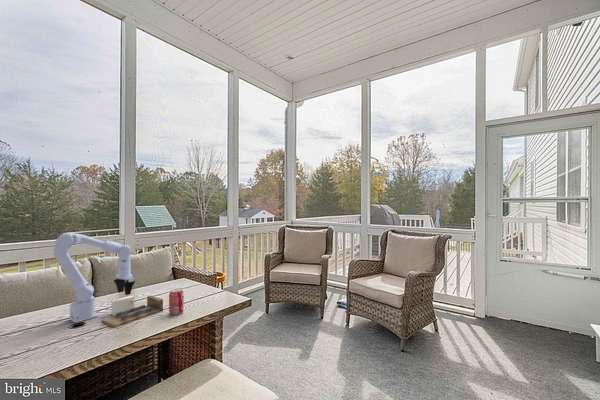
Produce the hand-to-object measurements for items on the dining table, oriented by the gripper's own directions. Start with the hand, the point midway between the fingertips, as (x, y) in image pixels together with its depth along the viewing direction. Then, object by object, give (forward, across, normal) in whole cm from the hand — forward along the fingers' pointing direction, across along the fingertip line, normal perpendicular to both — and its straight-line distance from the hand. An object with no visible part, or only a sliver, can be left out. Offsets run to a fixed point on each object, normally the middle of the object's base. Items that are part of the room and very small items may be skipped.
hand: (124, 293), depth 149 cm
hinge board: (+9, -12, +1) cm, 15 cm away
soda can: (+10, -27, -13) cm, 31 cm away
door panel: (+10, -1, +1) cm, 10 cm away
